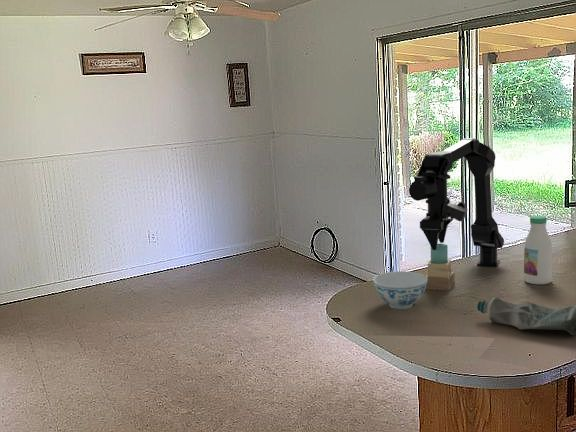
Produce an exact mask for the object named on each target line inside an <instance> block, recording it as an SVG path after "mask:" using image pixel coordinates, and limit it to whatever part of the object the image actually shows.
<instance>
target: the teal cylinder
mask: <svg viewBox="0 0 576 432" xmlns="http://www.w3.org/2000/svg"><path fill="white" fill-rule="evenodd" d="M448 255H449V254H448V244H445V243H437V249H436V250H432V248H431V247H430V260H431V262H432V263H437V264H442V263H447V262H448V259H449V258H448V257H449V256H448Z"/></svg>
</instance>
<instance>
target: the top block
mask: <svg viewBox="0 0 576 432" xmlns="http://www.w3.org/2000/svg"><path fill="white" fill-rule="evenodd" d="M451 272H452V259H449V258H448V262H447V263H442V264H437V263H432V262H431V259H430V260H429V261H428V262H427V273H428V277H445V278H448V277H449V275H450V273H451Z"/></svg>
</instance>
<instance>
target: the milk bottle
mask: <svg viewBox="0 0 576 432" xmlns="http://www.w3.org/2000/svg"><path fill="white" fill-rule="evenodd" d="M547 219H548V218H547V217H546V216H544V215H533V216H532V215H531V216H530V217H529V224H530V229H529V232H528V234H527V235H526V237H525V240H524V249H523V251H524V252H523V255H524V256H523V257H524V259H523V280H524V282H526V283H528V284H532V285H547V284H550V283H552V272H553V267H552V263H553V260H552V259H553V251H552V250H553V249H552V247H553V246H552V245H553V244H552V240H551V237H550V235H549V233H548V230H547Z"/></svg>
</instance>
